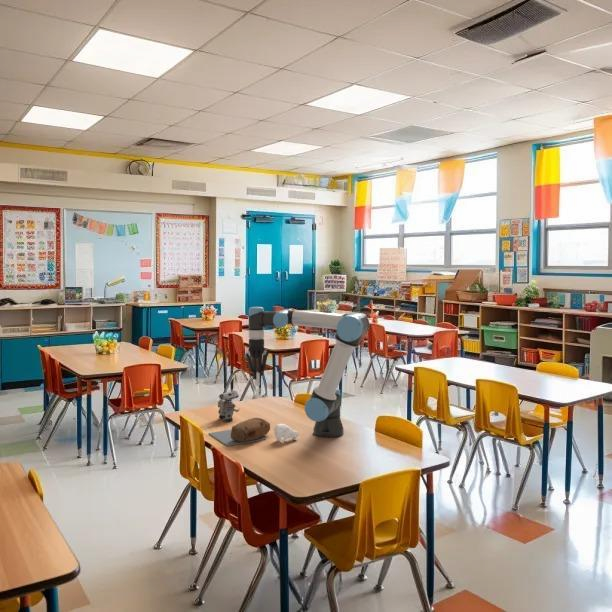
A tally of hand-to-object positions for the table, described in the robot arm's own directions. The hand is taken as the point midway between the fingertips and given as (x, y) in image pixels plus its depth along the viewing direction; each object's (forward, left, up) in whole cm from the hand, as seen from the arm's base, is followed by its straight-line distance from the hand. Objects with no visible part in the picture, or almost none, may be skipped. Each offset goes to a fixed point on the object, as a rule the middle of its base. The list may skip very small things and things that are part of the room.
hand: (257, 385), depth 296 cm
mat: (0, +11, -24) cm, 27 cm away
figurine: (+31, +1, -25) cm, 40 cm away
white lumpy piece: (-18, -7, -25) cm, 31 cm away
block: (-1, -2, -20) cm, 20 cm away
